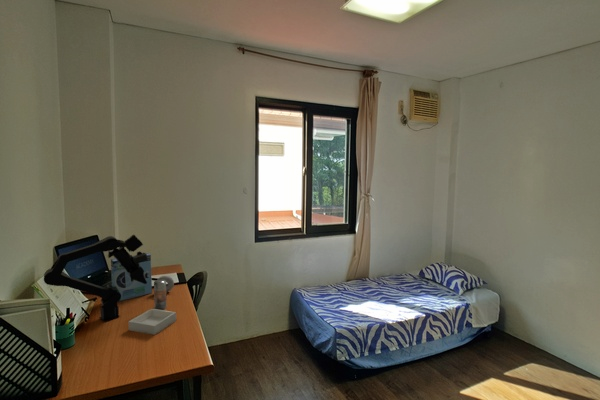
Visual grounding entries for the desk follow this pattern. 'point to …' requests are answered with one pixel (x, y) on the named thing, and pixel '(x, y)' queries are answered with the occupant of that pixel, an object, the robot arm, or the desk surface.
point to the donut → (168, 280)
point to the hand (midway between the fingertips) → (144, 280)
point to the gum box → (131, 280)
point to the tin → (160, 294)
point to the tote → (152, 321)
